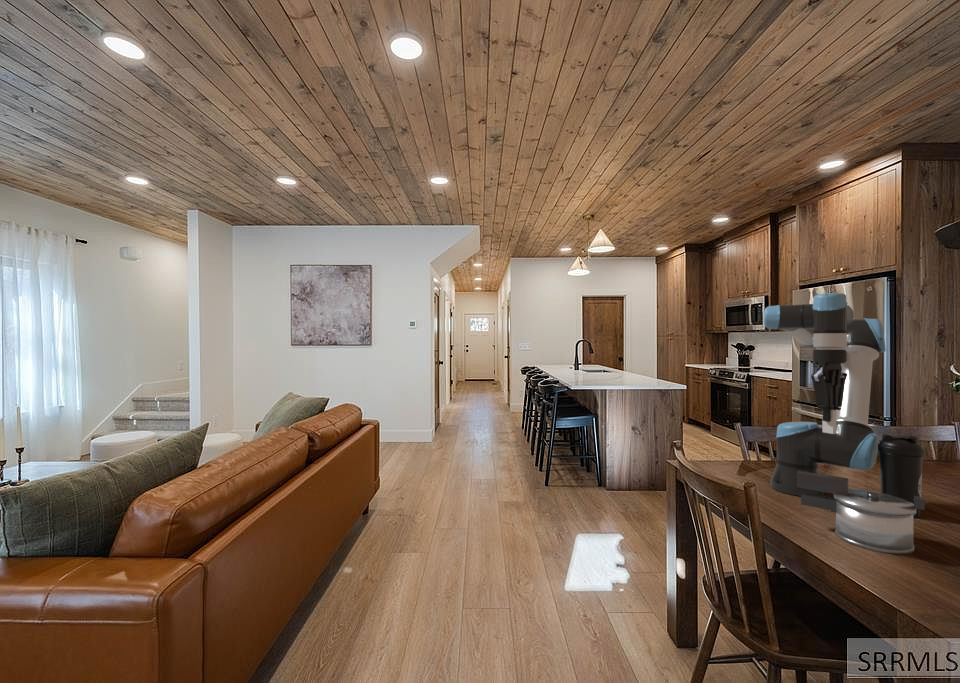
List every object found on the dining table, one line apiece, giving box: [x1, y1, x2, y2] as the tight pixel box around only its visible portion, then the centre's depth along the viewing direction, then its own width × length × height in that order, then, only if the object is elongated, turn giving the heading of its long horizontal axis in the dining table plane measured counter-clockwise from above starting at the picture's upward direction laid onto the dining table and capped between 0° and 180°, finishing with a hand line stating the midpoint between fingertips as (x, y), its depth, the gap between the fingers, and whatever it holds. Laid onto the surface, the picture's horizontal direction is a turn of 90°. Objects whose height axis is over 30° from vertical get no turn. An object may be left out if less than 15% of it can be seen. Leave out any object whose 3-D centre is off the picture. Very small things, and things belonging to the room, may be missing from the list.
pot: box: [800, 492, 915, 555], centre depth 119 cm, size 23×15×9 cm
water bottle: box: [878, 433, 925, 519], centre depth 136 cm, size 10×10×23 cm
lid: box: [797, 471, 926, 516], centre depth 119 cm, size 25×16×5 cm, turn 48°
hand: (829, 432), depth 127 cm, fingers closed
